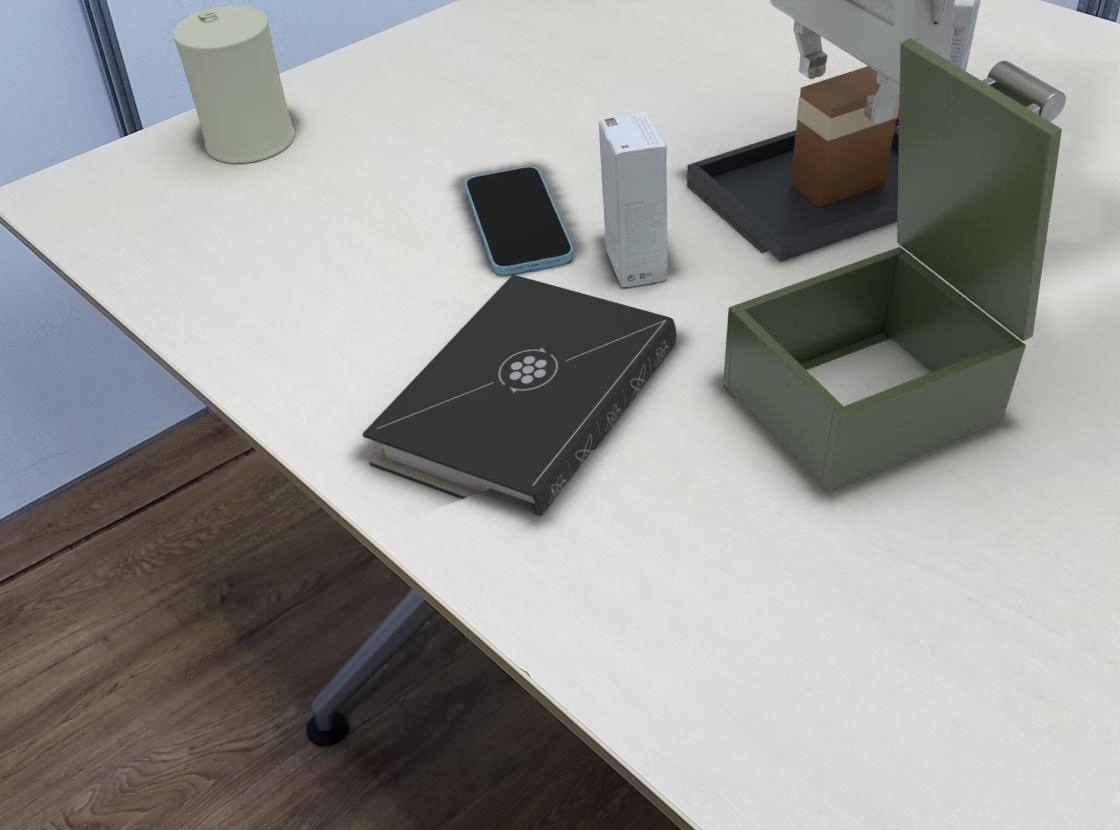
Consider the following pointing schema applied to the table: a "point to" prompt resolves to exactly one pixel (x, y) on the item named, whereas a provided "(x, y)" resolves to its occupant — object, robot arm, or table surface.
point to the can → (235, 83)
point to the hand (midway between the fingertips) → (843, 96)
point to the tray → (787, 199)
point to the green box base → (851, 325)
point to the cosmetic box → (634, 198)
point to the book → (521, 393)
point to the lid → (978, 179)
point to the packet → (840, 139)
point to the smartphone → (518, 220)
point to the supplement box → (962, 33)
